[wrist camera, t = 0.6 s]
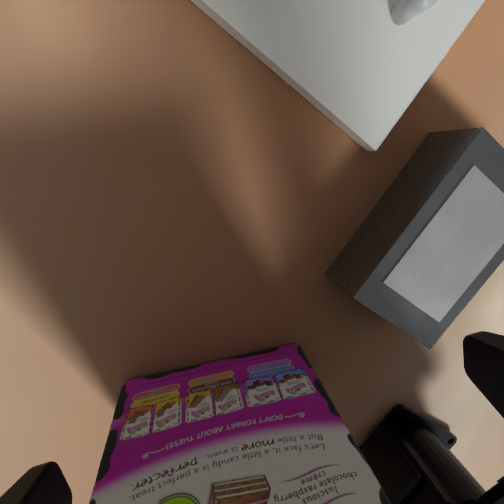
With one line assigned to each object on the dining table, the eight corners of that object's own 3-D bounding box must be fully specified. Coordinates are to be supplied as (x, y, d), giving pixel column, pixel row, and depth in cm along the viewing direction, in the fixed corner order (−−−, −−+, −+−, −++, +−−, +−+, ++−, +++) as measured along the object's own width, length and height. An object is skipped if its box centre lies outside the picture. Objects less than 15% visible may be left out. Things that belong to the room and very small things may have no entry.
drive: (488, 191, 21) (555, 200, 17) (389, 316, 22) (431, 350, 19) (426, 133, 19) (484, 127, 16) (323, 272, 21) (353, 298, 17)
